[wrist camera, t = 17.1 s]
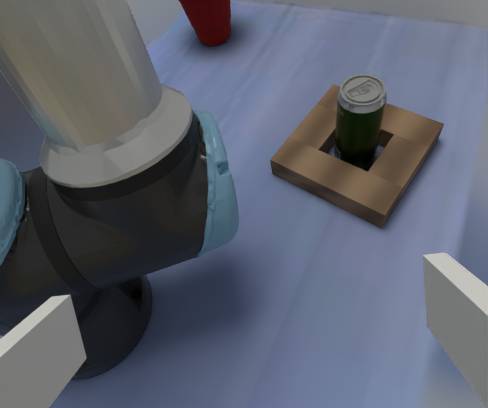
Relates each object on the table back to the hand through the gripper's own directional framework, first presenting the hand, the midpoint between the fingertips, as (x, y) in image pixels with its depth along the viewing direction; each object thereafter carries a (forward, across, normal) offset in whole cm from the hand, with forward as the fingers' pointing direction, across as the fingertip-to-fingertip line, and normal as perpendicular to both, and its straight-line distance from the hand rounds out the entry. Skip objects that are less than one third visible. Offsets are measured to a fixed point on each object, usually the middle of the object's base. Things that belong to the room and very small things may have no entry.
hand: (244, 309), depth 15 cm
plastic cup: (+64, -7, +22) cm, 68 cm away
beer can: (+42, +12, -1) cm, 43 cm away
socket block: (+42, +12, 0) cm, 43 cm away
